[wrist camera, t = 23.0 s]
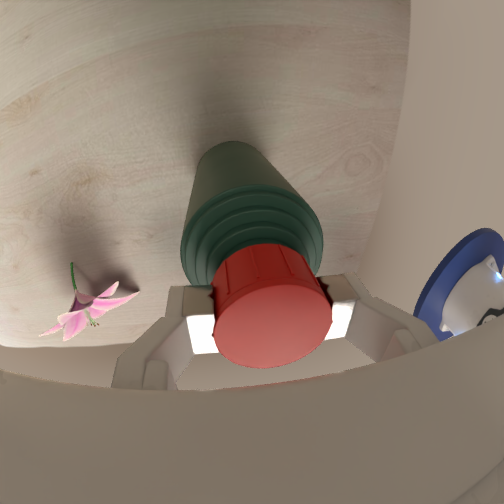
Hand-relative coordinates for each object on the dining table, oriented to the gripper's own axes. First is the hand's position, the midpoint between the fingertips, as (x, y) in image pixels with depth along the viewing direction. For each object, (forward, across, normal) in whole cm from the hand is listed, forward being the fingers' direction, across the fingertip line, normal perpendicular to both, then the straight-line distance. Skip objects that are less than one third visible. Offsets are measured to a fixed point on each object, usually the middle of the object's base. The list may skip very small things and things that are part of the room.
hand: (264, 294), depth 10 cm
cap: (-2, 0, 0) cm, 2 cm away
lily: (+17, +16, +11) cm, 26 cm away
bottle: (+17, 0, 0) cm, 17 cm away
